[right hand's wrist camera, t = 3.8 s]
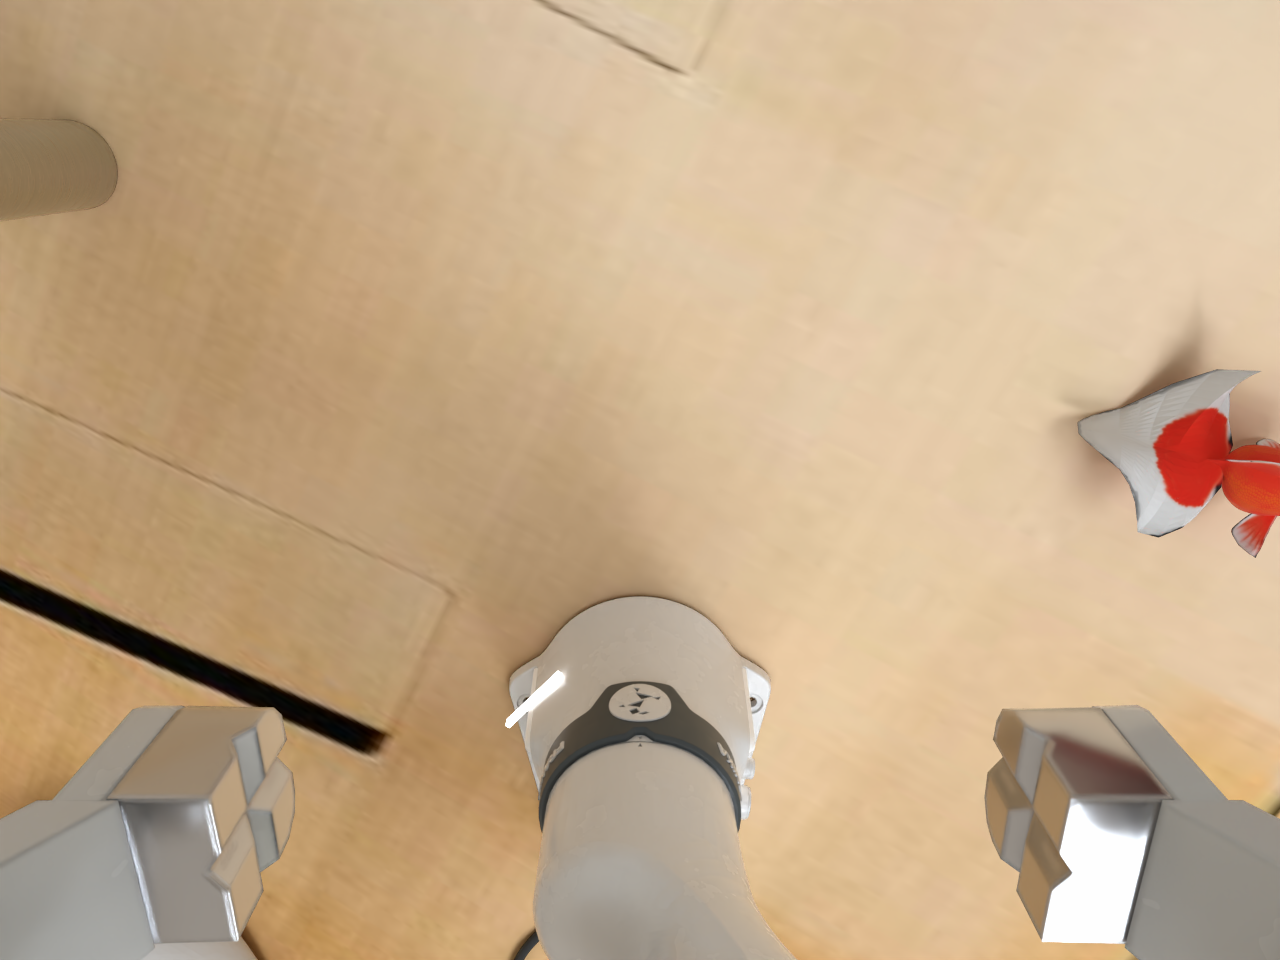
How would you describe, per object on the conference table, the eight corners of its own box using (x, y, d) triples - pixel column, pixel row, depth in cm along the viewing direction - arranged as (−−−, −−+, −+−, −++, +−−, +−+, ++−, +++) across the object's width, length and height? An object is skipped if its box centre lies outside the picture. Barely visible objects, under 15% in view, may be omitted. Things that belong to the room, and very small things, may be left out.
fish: (1241, 619, 59) (1326, 616, 49) (1024, 484, 63) (1064, 456, 53) (1334, 484, 59) (1437, 454, 50) (1113, 358, 63) (1168, 307, 53)
